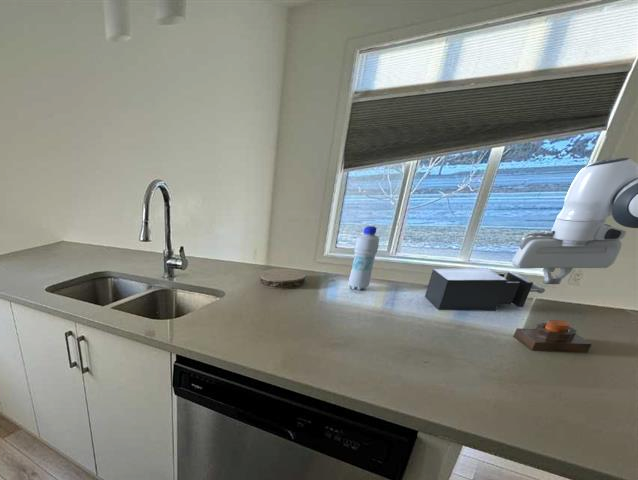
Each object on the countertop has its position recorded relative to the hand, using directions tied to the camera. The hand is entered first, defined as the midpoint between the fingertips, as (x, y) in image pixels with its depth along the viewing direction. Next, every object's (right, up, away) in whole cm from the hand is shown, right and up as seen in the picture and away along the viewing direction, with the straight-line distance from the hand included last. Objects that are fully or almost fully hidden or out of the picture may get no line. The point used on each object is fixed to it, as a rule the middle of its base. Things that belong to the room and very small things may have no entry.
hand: (550, 283), depth 110 cm
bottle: (-38, +5, +26) cm, 46 cm away
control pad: (-18, -18, -17) cm, 31 cm away
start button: (-19, -15, -19) cm, 30 cm away
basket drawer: (-10, -3, +5) cm, 12 cm away
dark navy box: (-18, -4, +8) cm, 21 cm away
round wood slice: (-59, +10, +39) cm, 71 cm away
